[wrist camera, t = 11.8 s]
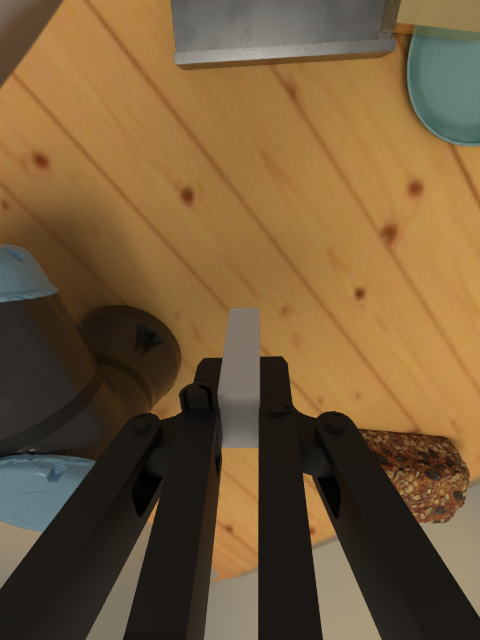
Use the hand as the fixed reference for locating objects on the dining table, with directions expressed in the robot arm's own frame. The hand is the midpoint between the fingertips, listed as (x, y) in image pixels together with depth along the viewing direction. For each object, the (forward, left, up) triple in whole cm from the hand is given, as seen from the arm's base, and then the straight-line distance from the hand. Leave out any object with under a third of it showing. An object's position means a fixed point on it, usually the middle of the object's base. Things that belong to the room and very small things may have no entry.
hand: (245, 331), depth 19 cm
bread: (+20, -38, -25) cm, 49 cm away
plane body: (+3, +18, -24) cm, 30 cm away
